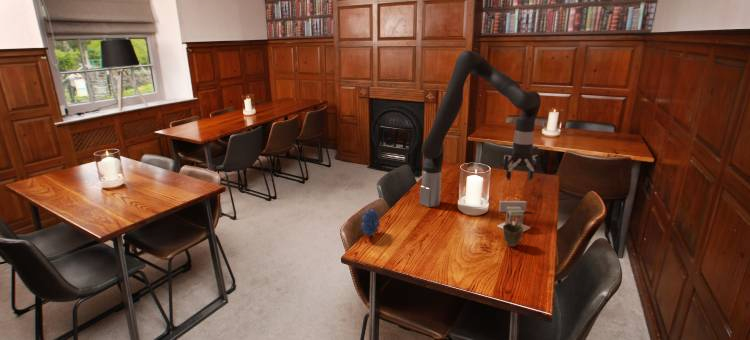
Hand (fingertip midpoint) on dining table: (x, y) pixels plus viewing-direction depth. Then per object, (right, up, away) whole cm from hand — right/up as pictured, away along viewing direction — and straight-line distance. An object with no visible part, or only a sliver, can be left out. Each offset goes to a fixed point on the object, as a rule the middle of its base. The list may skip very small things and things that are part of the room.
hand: (518, 179), depth 166 cm
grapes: (-61, -24, -1) cm, 65 cm away
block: (+5, -16, +23) cm, 28 cm away
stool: (0, -21, +3) cm, 21 cm away
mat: (0, -21, +7) cm, 22 cm away
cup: (-6, -26, -8) cm, 28 cm away
